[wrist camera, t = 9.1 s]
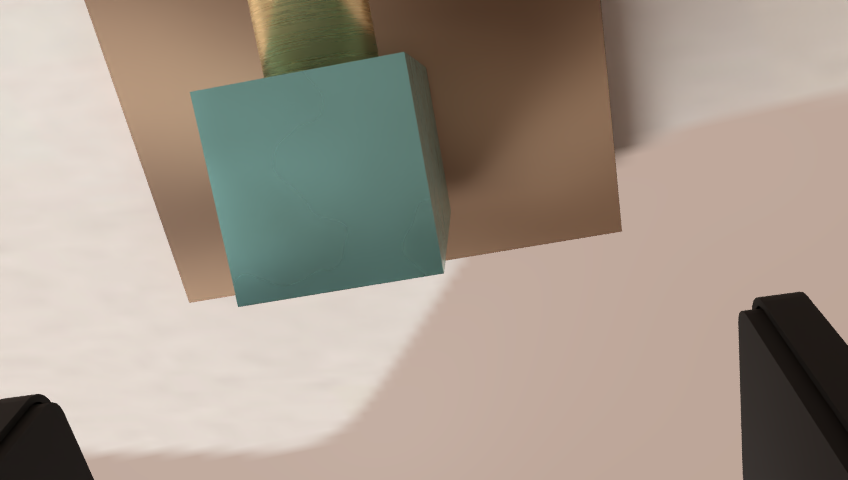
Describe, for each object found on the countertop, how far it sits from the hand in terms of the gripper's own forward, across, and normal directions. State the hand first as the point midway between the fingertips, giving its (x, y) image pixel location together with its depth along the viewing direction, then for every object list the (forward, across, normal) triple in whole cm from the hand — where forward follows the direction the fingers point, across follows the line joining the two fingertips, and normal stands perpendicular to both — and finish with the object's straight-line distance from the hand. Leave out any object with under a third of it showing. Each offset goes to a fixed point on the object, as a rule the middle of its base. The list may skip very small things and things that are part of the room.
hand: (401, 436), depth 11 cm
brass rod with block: (+12, +2, -8) cm, 14 cm away
